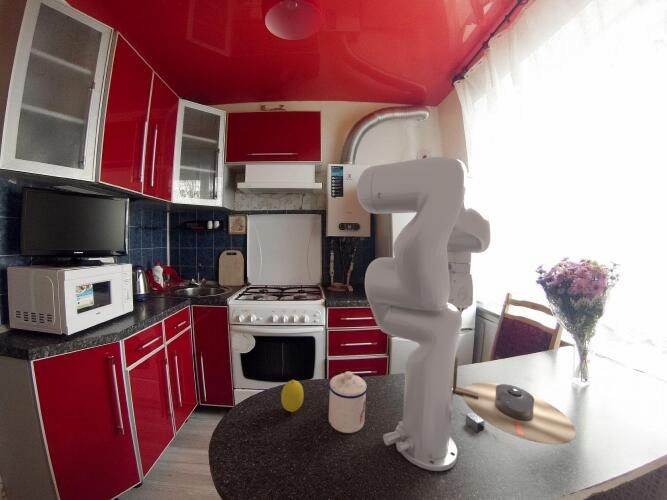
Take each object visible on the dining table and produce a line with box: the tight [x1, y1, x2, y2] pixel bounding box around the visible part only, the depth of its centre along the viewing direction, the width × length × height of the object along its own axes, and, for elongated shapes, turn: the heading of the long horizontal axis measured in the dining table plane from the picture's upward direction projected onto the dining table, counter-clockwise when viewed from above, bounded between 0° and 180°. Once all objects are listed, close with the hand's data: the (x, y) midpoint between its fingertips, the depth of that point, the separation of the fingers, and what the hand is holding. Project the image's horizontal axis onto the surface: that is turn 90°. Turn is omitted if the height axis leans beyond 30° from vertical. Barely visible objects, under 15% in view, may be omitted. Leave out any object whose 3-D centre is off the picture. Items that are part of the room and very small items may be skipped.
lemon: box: [280, 379, 305, 413], centre depth 62 cm, size 6×6×8 cm
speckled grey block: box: [465, 411, 485, 434], centre depth 60 cm, size 2×3×2 cm
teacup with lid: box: [328, 370, 368, 434], centre depth 62 cm, size 12×9×12 cm
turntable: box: [453, 352, 577, 445], centre depth 66 cm, size 25×29×12 cm
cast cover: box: [495, 383, 534, 421], centre depth 65 cm, size 8×8×6 cm
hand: (452, 328), depth 76 cm, fingers closed
